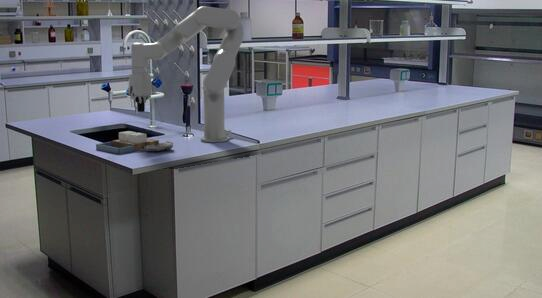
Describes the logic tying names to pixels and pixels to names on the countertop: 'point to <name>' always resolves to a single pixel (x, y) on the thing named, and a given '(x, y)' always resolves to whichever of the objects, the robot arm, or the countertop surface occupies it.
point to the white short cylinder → (125, 135)
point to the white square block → (137, 137)
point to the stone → (159, 146)
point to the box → (113, 148)
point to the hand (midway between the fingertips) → (141, 111)
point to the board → (134, 144)
